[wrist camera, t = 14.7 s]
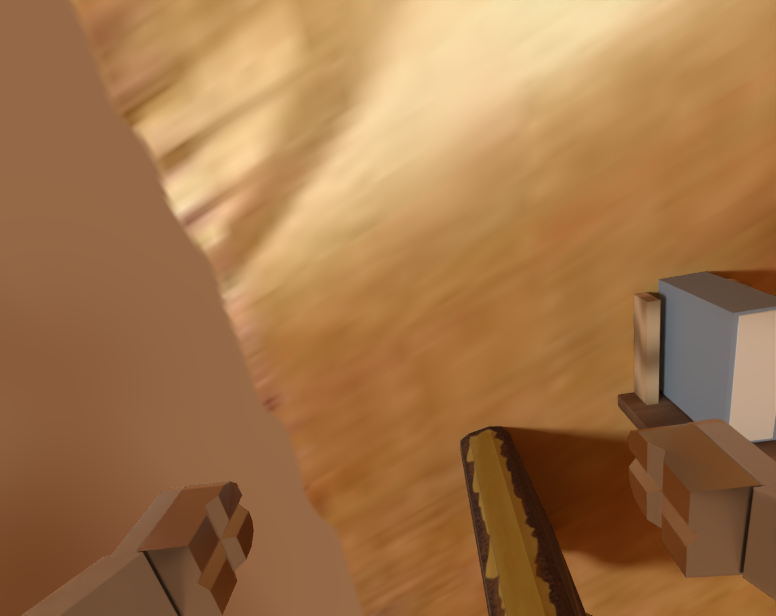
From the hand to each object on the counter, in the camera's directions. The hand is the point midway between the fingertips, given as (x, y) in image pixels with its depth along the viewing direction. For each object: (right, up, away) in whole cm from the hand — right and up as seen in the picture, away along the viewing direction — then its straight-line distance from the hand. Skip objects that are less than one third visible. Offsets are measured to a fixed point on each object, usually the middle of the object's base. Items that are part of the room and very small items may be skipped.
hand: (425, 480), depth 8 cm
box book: (+31, +1, +34) cm, 46 cm away
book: (+15, -21, +43) cm, 50 cm away
